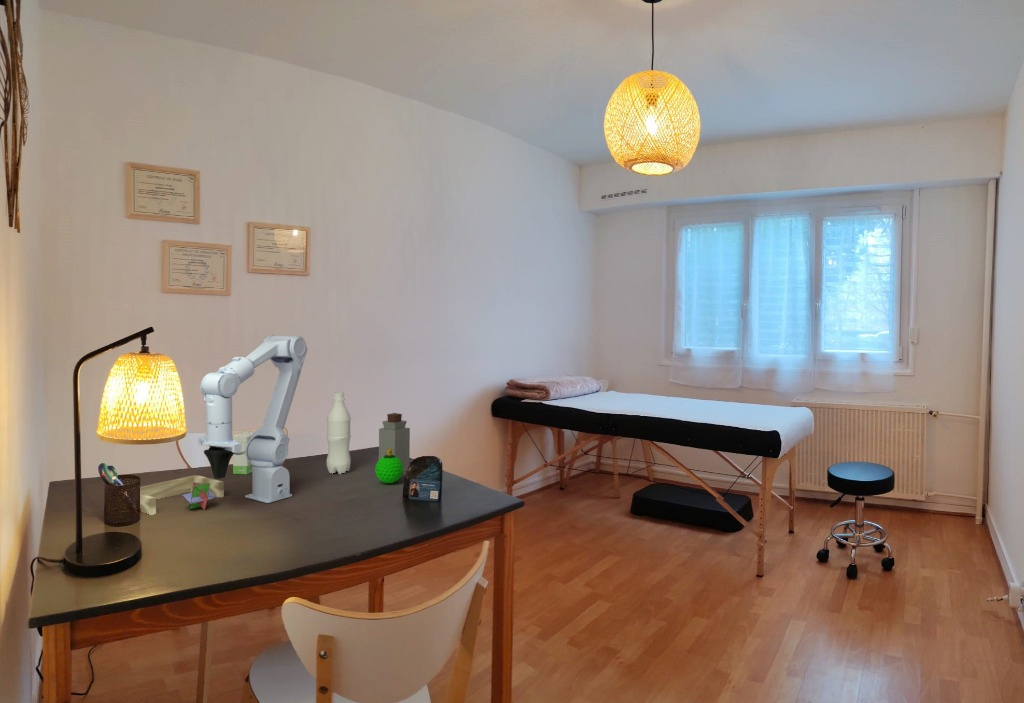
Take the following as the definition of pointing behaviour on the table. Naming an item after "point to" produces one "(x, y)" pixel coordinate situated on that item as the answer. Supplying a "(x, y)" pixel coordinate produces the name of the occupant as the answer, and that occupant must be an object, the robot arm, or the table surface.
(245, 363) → the robot arm
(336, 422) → the water bottle
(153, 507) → the beige piece
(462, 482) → the table surface
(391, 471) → the ornament
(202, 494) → the geometric puzzle
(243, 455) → the ink box
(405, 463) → the perfume bottle
